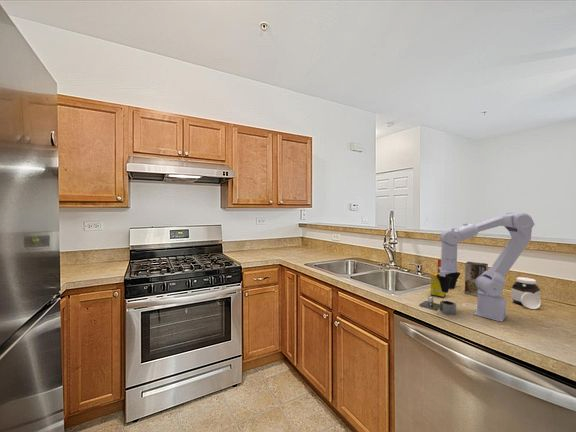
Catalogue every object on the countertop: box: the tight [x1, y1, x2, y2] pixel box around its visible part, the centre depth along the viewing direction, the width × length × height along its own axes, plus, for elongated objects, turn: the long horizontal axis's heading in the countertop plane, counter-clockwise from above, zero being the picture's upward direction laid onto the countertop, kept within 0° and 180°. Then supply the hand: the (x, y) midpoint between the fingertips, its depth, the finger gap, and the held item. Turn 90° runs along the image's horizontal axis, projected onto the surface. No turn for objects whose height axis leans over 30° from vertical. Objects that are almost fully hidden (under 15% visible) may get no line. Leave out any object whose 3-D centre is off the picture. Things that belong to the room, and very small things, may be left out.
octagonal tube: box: [439, 300, 457, 316], centre depth 114 cm, size 5×5×4 cm
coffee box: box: [464, 261, 489, 297], centre depth 138 cm, size 9×6×16 cm
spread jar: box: [510, 276, 542, 310], centre depth 123 cm, size 12×11×12 cm
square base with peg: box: [418, 295, 440, 311], centre depth 121 cm, size 7×7×4 cm
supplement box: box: [430, 271, 447, 299], centre depth 136 cm, size 6×6×11 cm
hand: (448, 290), depth 114 cm, fingers open, 7 cm apart
